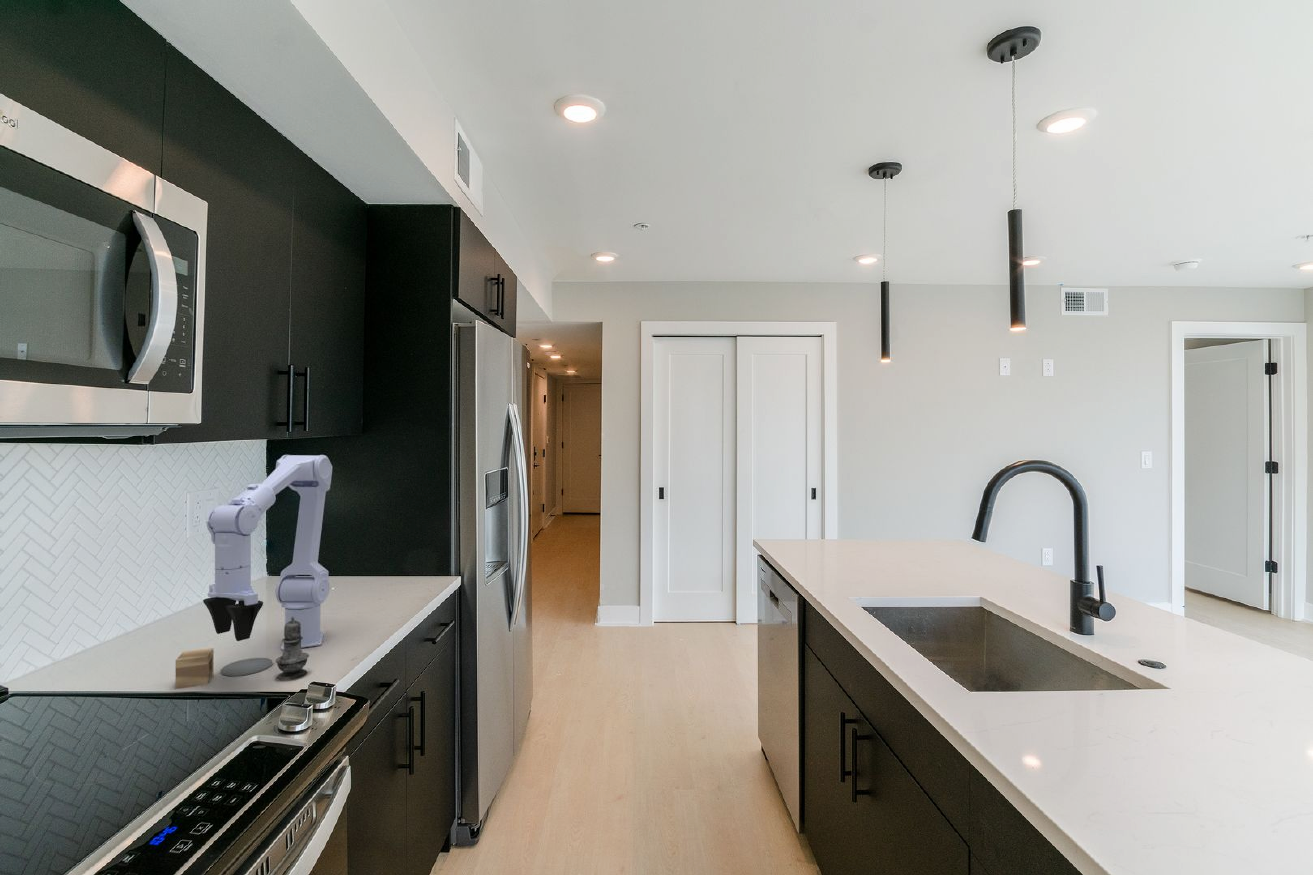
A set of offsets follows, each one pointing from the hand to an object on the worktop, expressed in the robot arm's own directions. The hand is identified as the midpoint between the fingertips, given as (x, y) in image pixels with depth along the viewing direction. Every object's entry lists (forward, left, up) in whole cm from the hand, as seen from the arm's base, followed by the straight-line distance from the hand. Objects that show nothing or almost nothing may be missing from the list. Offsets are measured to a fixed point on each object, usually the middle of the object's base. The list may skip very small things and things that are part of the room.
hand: (232, 635), depth 117 cm
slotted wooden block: (-5, -7, -10) cm, 13 cm away
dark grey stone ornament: (-1, +10, -10) cm, 14 cm away
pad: (-9, +1, -10) cm, 13 cm away
